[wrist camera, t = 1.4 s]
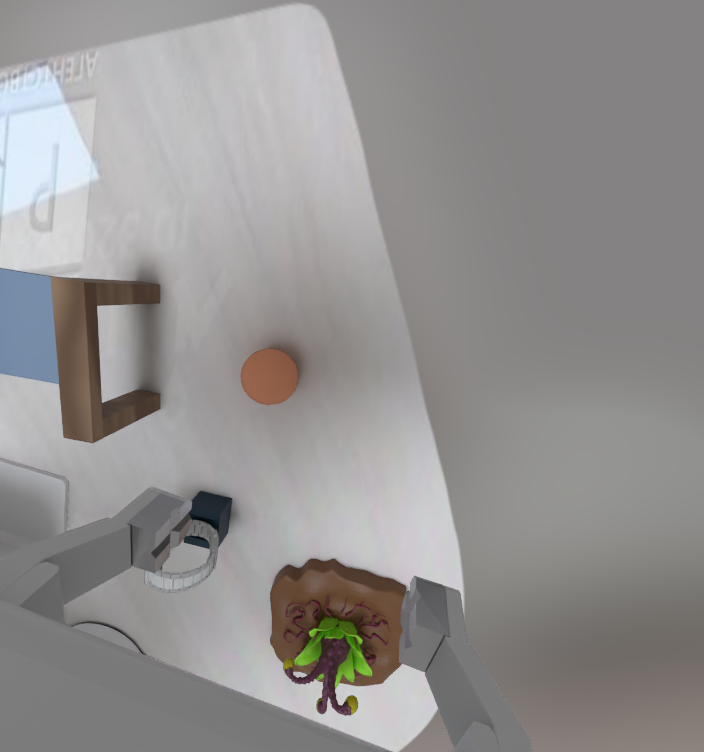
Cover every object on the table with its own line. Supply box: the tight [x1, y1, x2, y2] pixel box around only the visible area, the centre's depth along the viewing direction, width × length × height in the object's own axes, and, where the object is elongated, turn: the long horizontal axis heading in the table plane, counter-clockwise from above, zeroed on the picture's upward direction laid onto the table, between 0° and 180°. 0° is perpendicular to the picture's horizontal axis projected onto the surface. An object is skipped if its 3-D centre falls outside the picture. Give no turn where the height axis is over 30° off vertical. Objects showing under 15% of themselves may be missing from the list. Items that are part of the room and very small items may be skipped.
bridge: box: [51, 277, 160, 443], centre depth 34 cm, size 3×15×10 cm, turn 172°
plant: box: [270, 559, 406, 716], centre depth 41 cm, size 20×20×11 cm
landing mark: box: [0, 269, 59, 384], centre depth 39 cm, size 13×13×1 cm
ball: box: [241, 349, 298, 405], centre depth 35 cm, size 6×6×6 cm
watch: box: [144, 491, 232, 593], centre depth 38 cm, size 6×8×11 cm
